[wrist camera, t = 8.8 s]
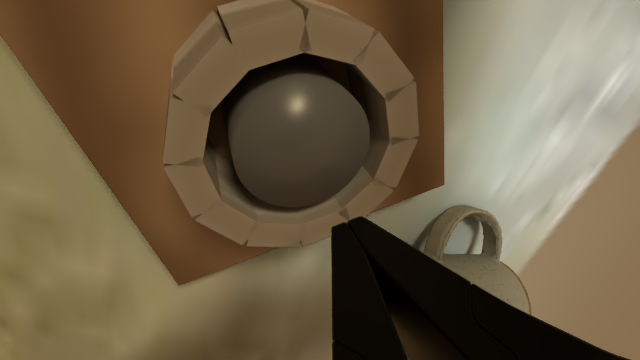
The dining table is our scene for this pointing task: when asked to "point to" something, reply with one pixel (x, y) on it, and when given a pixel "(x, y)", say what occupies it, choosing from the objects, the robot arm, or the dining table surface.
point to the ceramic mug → (477, 257)
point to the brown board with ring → (206, 108)
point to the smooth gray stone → (294, 132)
